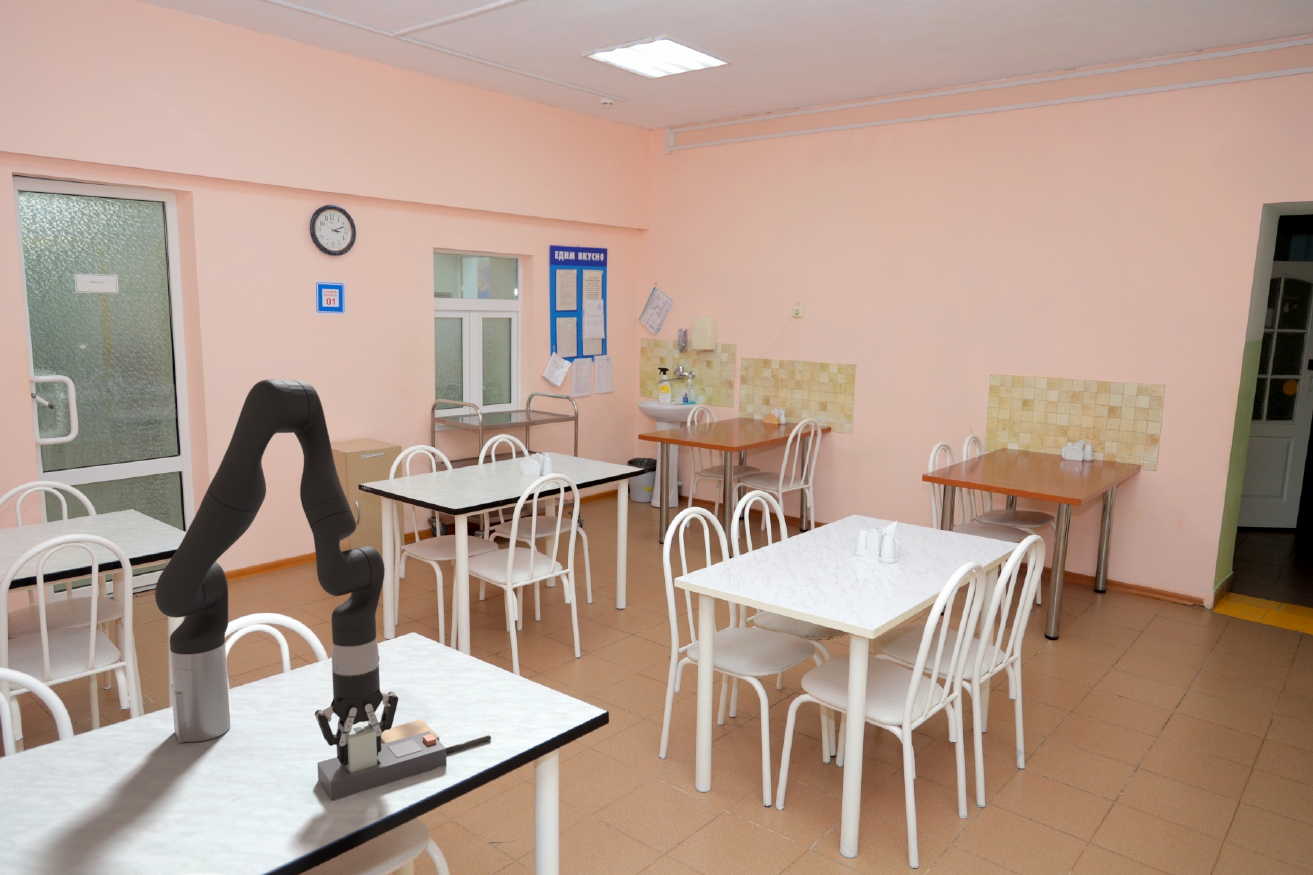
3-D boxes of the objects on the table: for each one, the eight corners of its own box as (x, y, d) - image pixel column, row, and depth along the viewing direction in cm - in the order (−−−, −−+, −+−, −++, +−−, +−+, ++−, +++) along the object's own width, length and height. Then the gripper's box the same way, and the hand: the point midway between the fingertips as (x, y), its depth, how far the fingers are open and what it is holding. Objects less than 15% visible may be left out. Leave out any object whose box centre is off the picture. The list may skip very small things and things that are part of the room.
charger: (350, 777, 146) (349, 738, 145) (342, 766, 150) (341, 728, 149) (377, 770, 149) (375, 731, 148) (369, 759, 152) (367, 721, 151)
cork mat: (392, 753, 158) (392, 750, 158) (376, 734, 166) (376, 731, 166) (439, 740, 164) (439, 737, 164) (421, 722, 171) (421, 719, 171)
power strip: (331, 800, 143) (330, 778, 142) (318, 779, 149) (317, 758, 149) (500, 748, 161) (499, 727, 160) (481, 731, 167) (481, 712, 167)
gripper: (389, 648, 154) (393, 739, 156) (305, 666, 146) (310, 762, 148) (404, 662, 148) (407, 756, 150) (318, 682, 140) (322, 781, 142)
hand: (359, 758), depth 149 cm, fingers closed on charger, 4 cm apart
